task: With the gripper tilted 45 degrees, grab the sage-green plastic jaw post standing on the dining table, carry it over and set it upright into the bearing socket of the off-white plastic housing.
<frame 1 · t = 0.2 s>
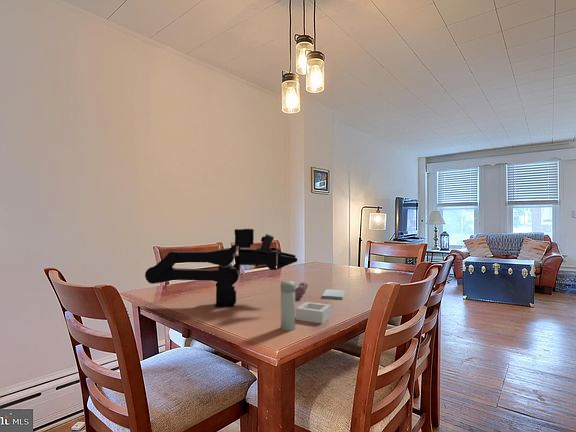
hand: (296, 258, 117), 17 cm above the table, tool horizontal, fingers open, 9 cm apart
housing: (314, 317, 101), on the table
video game controller: (299, 297, 127), on the table
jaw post: (287, 328, 91), on the table
hard drive: (333, 297, 130), on the table
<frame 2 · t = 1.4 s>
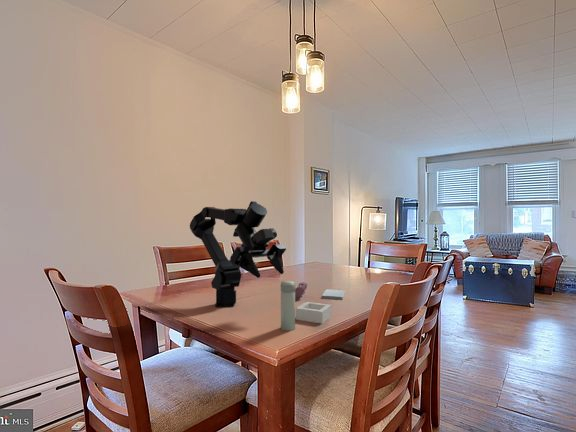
hand: (271, 275, 97), 14 cm above the table, tool tilted 45°, fingers open, 9 cm apart
nothing on the table moved.
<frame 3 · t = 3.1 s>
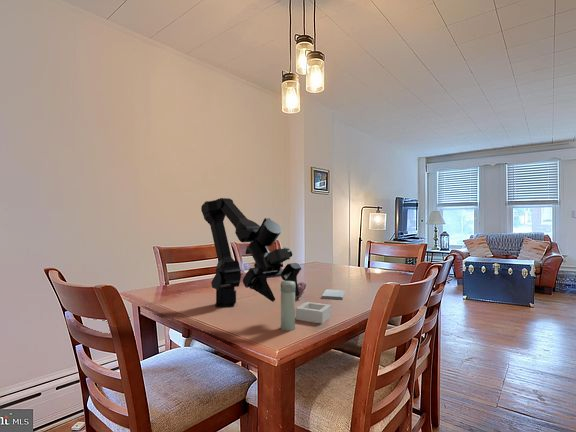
hand: (286, 298, 91), 8 cm above the table, tool tilted 45°, fingers open, 9 cm apart
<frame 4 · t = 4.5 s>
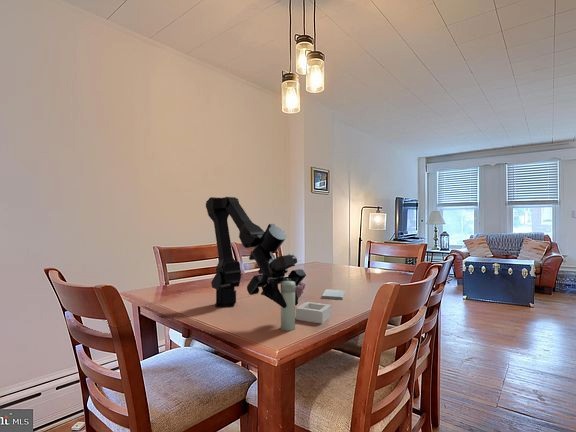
hand: (291, 305, 90), 7 cm above the table, tool tilted 45°, fingers closed on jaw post, 4 cm apart
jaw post: (287, 328, 91), on the table, touching gripper
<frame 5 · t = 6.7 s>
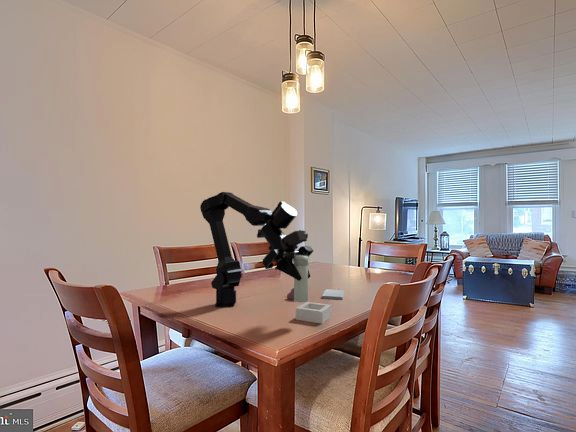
hand: (304, 278, 94), 13 cm above the table, tool tilted 45°, fingers closed on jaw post, 4 cm apart
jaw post: (300, 300, 94), point 7 cm above the table, touching gripper
when the fingers open (9 cm above the table, at t = 8.9 s): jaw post drops 1 cm, resting on housing.
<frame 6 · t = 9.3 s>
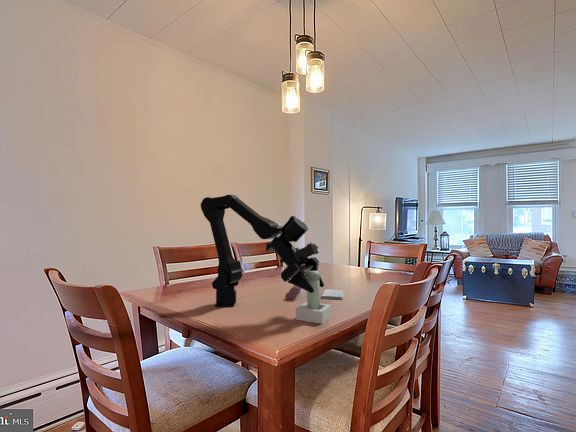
hand: (318, 289, 100), 9 cm above the table, tool tilted 45°, fingers open, 9 cm apart
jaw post: (313, 313, 101), point 1 cm above the table, touching housing
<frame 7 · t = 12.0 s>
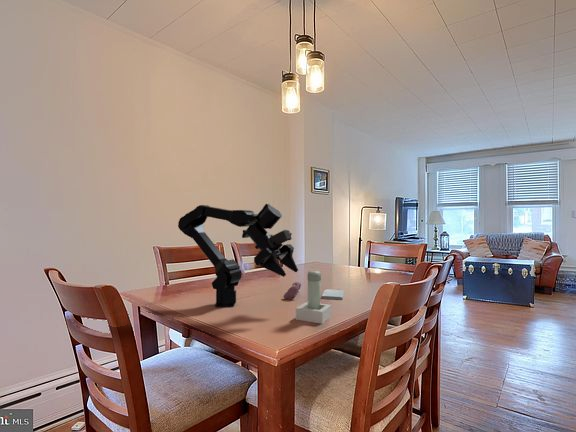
hand: (291, 273, 104), 13 cm above the table, tool tilted 45°, fingers open, 9 cm apart
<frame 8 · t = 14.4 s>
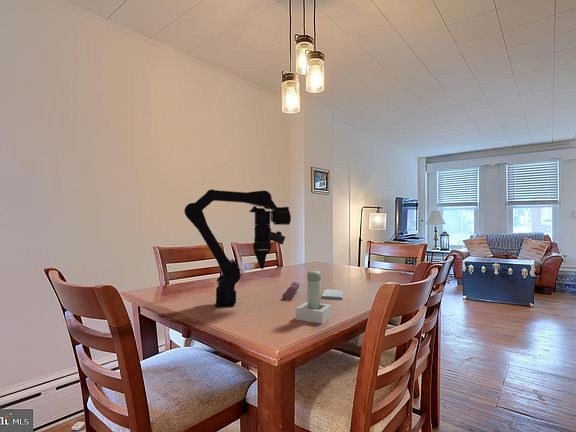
hand: (262, 266, 119), 13 cm above the table, tool pointing down, fingers open, 9 cm apart
at the end: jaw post 0.1 cm off-centre on the housing, point 1.3 cm above the housing's base; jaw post tilted 0°; the gripper is holding nothing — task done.
